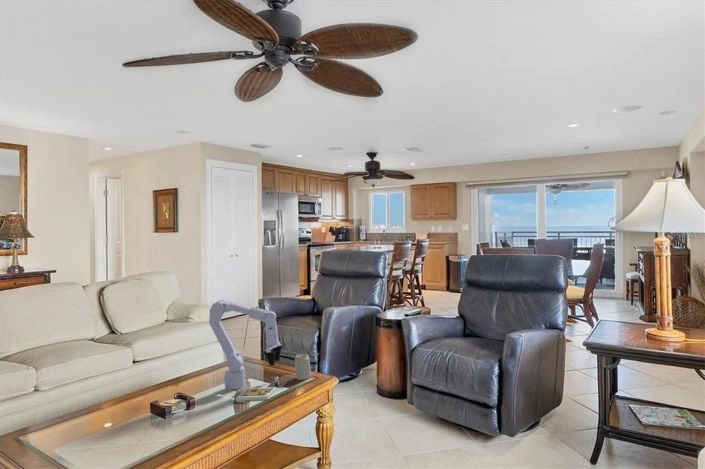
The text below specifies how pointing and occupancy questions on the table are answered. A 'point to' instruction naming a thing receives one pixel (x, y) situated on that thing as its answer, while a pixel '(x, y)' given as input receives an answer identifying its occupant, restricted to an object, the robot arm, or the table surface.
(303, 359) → the can
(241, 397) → the tray
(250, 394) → the square frame with tab
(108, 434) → the table surface
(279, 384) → the square base with knob
